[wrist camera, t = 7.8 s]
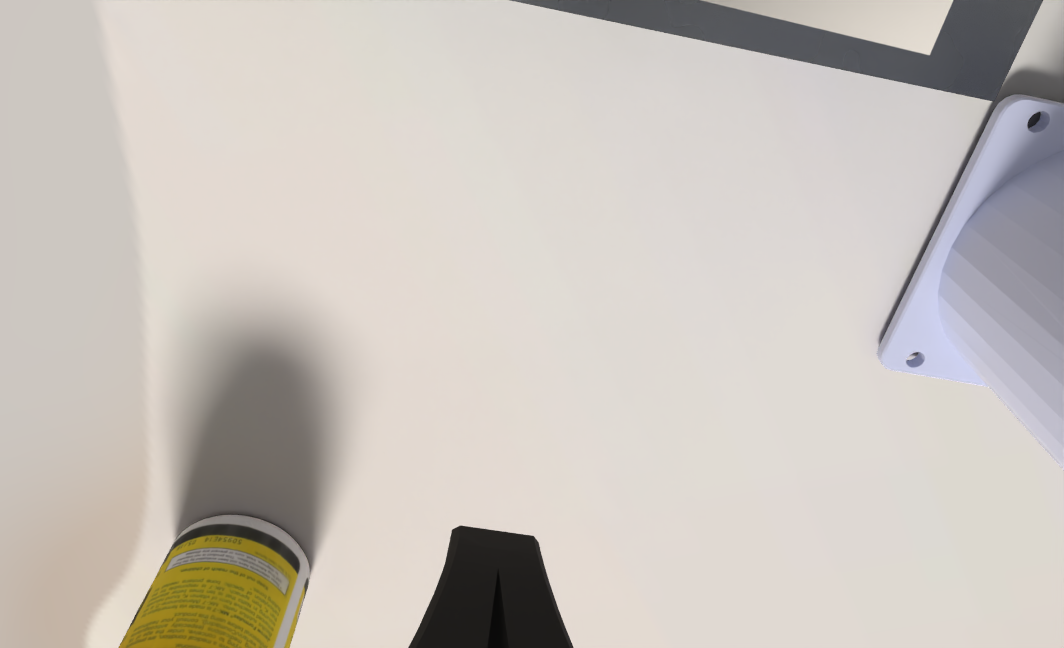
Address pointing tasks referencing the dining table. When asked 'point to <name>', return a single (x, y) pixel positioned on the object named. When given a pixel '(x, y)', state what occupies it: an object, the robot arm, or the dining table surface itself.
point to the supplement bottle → (224, 588)
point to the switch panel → (844, 39)
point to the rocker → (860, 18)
